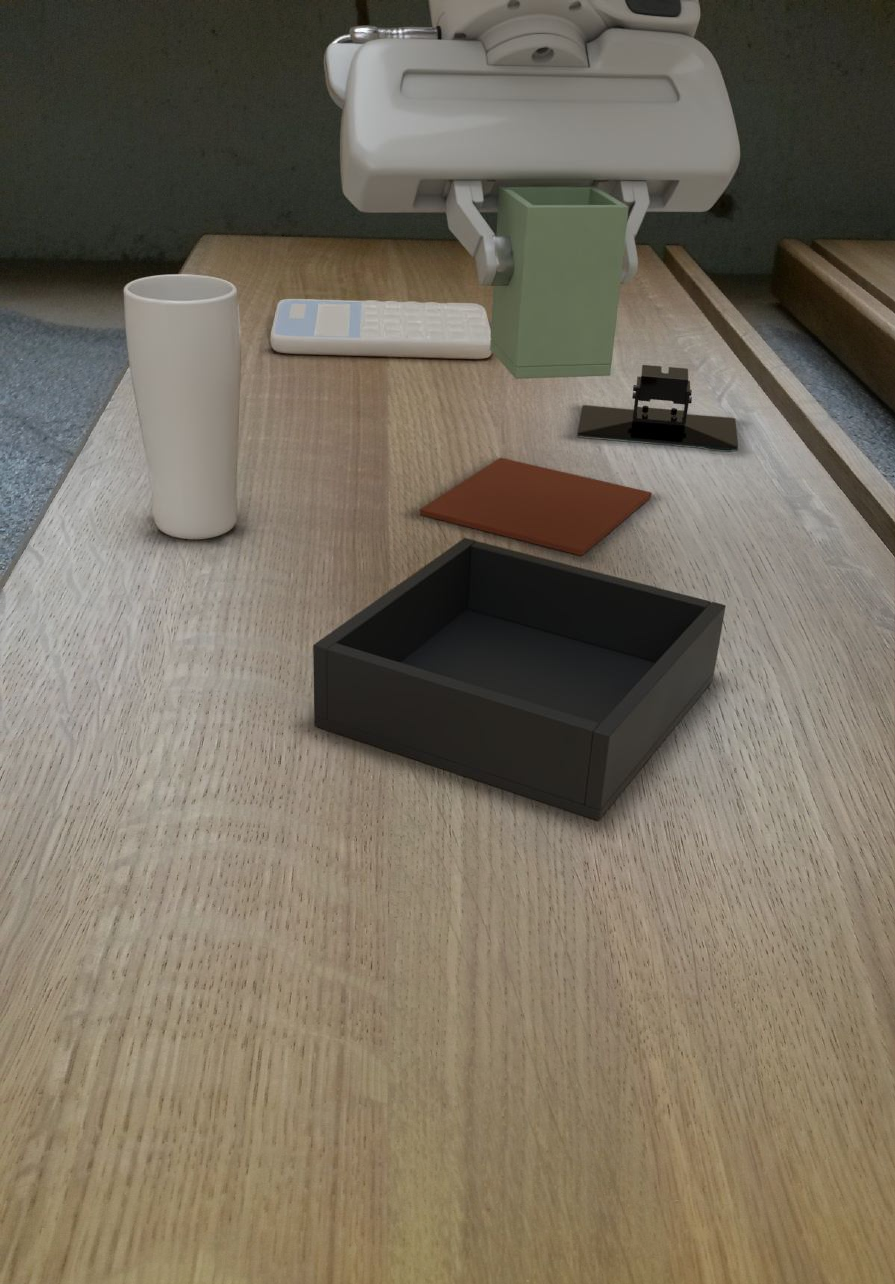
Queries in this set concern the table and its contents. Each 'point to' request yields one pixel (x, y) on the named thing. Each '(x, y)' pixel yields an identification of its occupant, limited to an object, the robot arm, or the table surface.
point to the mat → (538, 505)
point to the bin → (519, 673)
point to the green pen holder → (559, 281)
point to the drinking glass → (187, 397)
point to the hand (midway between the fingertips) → (560, 279)
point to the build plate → (660, 416)
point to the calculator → (381, 329)
